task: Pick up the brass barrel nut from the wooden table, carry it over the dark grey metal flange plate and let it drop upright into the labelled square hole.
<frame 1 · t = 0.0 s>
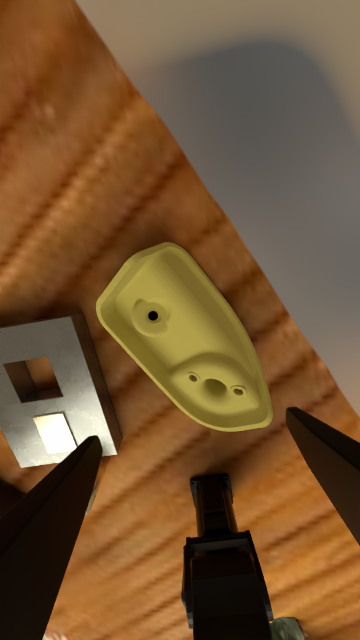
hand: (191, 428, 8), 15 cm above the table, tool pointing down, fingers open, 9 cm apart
plastic component: (184, 335, 23), on the table
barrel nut: (96, 457, 28), on the table
flange plate: (56, 388, 25), on the table
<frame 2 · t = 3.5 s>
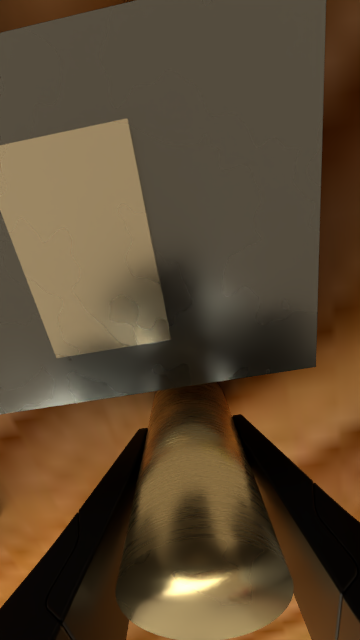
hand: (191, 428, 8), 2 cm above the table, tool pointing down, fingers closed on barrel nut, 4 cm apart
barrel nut: (189, 404, 10), on the table, touching gripper
flange plate: (83, 125, 7), on the table
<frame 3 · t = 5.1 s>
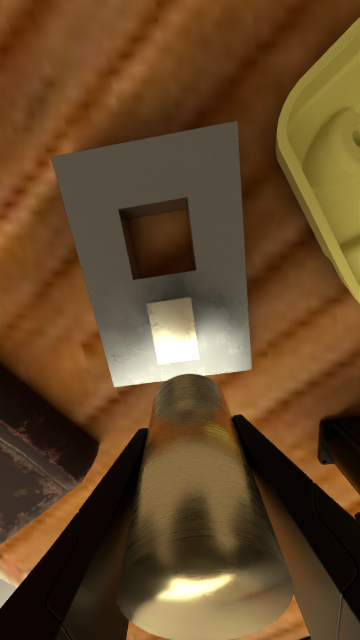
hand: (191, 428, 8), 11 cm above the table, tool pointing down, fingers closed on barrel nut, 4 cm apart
plastic component: (353, 209, 16), on the table
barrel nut: (189, 405, 10), point 10 cm above the table, touching gripper
flange plate: (167, 277, 18), on the table
when the fingers open (5 cm above the table, at t = 7.2 s): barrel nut drops 4 cm, resting in flange plate.
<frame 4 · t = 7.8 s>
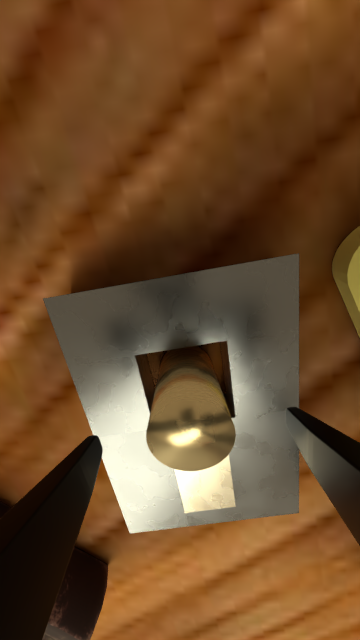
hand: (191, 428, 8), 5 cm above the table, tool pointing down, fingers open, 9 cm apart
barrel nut: (186, 368, 14), resting in flange plate
flange plate: (192, 400, 14), on the table
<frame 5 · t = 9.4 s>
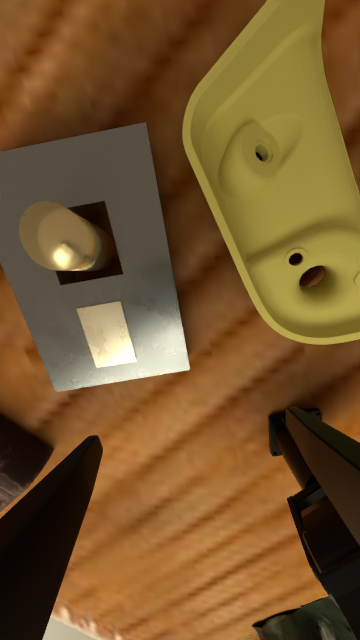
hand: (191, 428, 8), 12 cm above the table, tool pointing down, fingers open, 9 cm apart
plastic component: (272, 222, 17), on the table
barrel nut: (94, 249, 17), resting in flange plate
rose bouquet: (314, 629, 39), on the table
flange plate: (103, 280, 18), on the table
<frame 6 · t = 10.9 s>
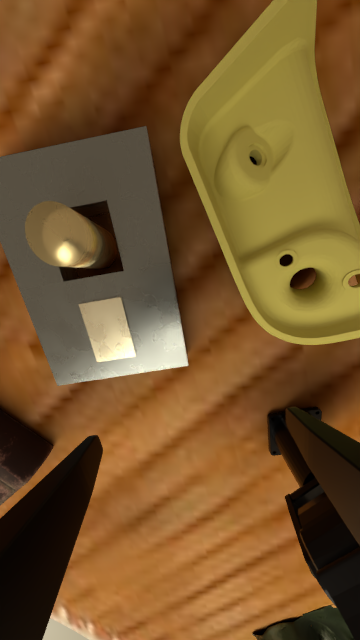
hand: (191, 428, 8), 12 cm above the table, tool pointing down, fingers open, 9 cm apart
plastic component: (266, 225, 17), on the table
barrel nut: (97, 247, 17), resting in flange plate
flange plate: (105, 278, 18), on the table
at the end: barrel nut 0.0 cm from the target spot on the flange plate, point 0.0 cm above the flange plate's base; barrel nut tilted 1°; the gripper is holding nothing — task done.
